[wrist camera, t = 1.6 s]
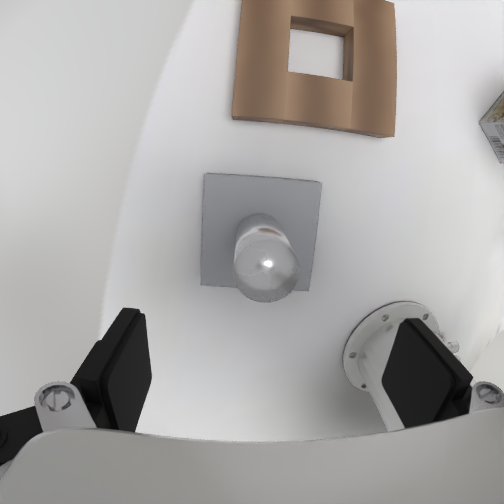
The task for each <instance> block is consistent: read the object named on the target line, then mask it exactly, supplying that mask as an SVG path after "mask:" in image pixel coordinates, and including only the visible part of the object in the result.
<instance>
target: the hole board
mask: <svg viewBox="0 0 504 504" xmlns="http://www.w3.org/2000/svg"><path fill="white" fill-rule="evenodd" d="M290 28H291V29H299V30H306V31H312V32H318V33H324V34H330V35H335V36H340V37H344V64H343V80H340V79H335V78H329V77H323V76H316V75H310V74H302V73H295V72H288V57H289V40H290ZM396 87H397V53H396V25H395V9H394V3H391V2H388V1H385V0H242V8H241V18H240V28H239V38H238V49H237V60H236V71H235V82H234V94H233V107H232V118H233V120H246V121H260V122H272V123H283V124H292V125H301V126H310V127H317V128H325V129H332V130H338V131H345V132H351V133H357V134H363V135H368V136H374V137H379V138H385V137H394V133H395V116H396Z"/></svg>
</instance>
